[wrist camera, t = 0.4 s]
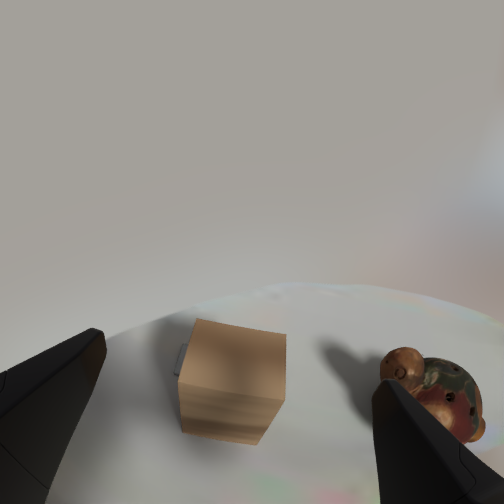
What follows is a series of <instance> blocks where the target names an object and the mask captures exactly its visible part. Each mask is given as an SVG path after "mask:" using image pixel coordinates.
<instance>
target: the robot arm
mask: <svg viewBox="0 0 504 504" xmlns="http://www.w3.org/2000/svg"><path fill="white" fill-rule="evenodd" d="M106 354H107V348H106V342H105V336H104V333H103V331H101V330H98V329H95V328H90V329H88V330H86V331H84V332H82V333H80V334H78V335H76V336H74V337H72V338H70V339H67V340H65V341H63V342H62V343H59V344H57V345H56V346H53V347H52V348H49V349H47V350H46V351H44V352H42V353H40V354H38V355H36V356H34V357H32V358H30V359H28V360H26V361H24V362H22V363H20V364H18V365H16V366H14V367H12V368H10V369H8V370H7V371H4V372H2V373H0V504H44V503H45V501H46V498H47V495H48V493H49V489H50V487H51V484H52V482H53V479H54V477H55V474H56V472H57V469H58V467H59V464H60V462H61V460H62V457H63V455H64V453H65V450H66V448H67V446H68V444H69V441H70V439H71V437H72V435H73V432H74V430H75V428H76V426H77V424H78V422H79V420H80V417H81V415H82V413H83V411H84V409H85V407H86V405H87V403H88V401H89V399H90V397H91V395H92V392H93V390H94V387H95V384H96V381H97V379H98V376H99V373H100V371H101V368H102V365H103V363H104V360H105V358H106ZM372 419H373V440H374V448H375V455H376V463H377V472H378V481H379V492H380V504H504V478H503V477H501V476H500V475H499V474H497V473H496V472H495V471H494V470H492V469H491V468H490V467H488V466H487V465H486V464H485V463H483V462H482V461H481V460H480V459H478V458H477V457H476V456H475V455H474V454H473V453H472V452H471V451H470V450H469V449H467V448H466V447H465V446H464V445H463V444H462V443H461V442H459V440H458V439H457V438H456V437H455V436H454V435H453V434H452V433H451V432H450V431H449V430H448V429H447V428H446V427H445V426H444V425H442V424H441V423H440V422H439V421H438V420H437V419H436V418H435V417H434V416H433V415H432V414H431V413H430V412H429V411H428V410H427V409H426V408H425V407H424V406H423V405H422V404H421V403H420V402H419V401H417V400H416V399H415V398H414V397H413V396H412V395H411V394H410V393H409V392H408V391H407V390H406V389H405V388H404V387H403V386H402V385H401V384H400V383H399V382H398V381H396V380H395V379H384V380H383V381H382V382H381V383H380V385H379V386H378V388H377V389H376V391H375V392H374V394H373V396H372Z"/></svg>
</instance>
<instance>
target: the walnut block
mask: <svg viewBox="0 0 504 504" xmlns="http://www.w3.org/2000/svg"><path fill="white" fill-rule="evenodd" d="M285 383H286V334H280V333H273V332H267V331H261V330H255V329H249V328H244V327H238V326H233V325H227V324H222V323H217V322H212V321H207V320H202V319H198V318H197V319H196V322H195V325H194V328H193V332H192V335H191V338H190V341H189V345H188V348H187V351H186V355H185V358H184V361H183V365H182V368H181V372H180V375H179V379H178V392H179V403H180V413H181V423H182V431H183V433H187V434H191V435H196V436H201V437H206V438H211V439H216V440H222V441H228V442H235V443H242V444H249V445H257V444H258V442H259V441H260V439H261V438H262V436H263V435H264V433H265V432H266V430H267V428H268V427H269V425H270V424H271V422H272V421H273V419H274V417H275V416H276V414H277V413H278V411H279V409H280V408H281V406H282V404H283V403H284V401H285Z"/></svg>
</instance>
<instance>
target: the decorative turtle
mask: <svg viewBox="0 0 504 504" xmlns="http://www.w3.org/2000/svg"><path fill="white" fill-rule="evenodd" d="M380 377H381V382H382V381H383V380H384V379H395V380H396V381H398V382H399V383H400V384H401V385H402V386H403V387H404V388H405V389H406V390H407V391H408V392H409V393H410V394H411V395H412V396H413V397H414V398H415V399H416V400H417V401H419V402H420V403H421V404H422V405H423V406H424V407H425V408H426V409H427V410H428V411H429V412H430V413H431V414H432V415H433V416H434V417H435V418H436V419H437V420H438V421H439V422H440V423H441V424H442V425H444V426H445V427H446V428H447V429H448V430H449V431H450V432H451V433H452V434H453V435H454V436H455V437H456V438H457V439H458V440H459V442H461V443H462V444H463V445H464V444H465V443H467V442H475V441H477V440H479V439H480V438H481V437H482V436H483V434H484V432H485V421H484V419H483V418H482V399H481V395H480V391H479V388H478V386H477V384H476V383H475V381H474V379H473V378H472V376H471V375H470V374H469V373H468V372H467V371H466V370H464V369H463V368H462V367H460V366H459V365H457V364H455V363H453V362H451V361H448V360H445V359H441V358H423V357H422V355H421V354H420V353H419V352H418V351H417V350H416V349H413V348H409V347H402V348H397V349H395V350H392V351H390V352H389V353H388V354H387V355H386V356H385V357H384V359H383V360H382V362H381V365H380Z"/></svg>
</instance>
